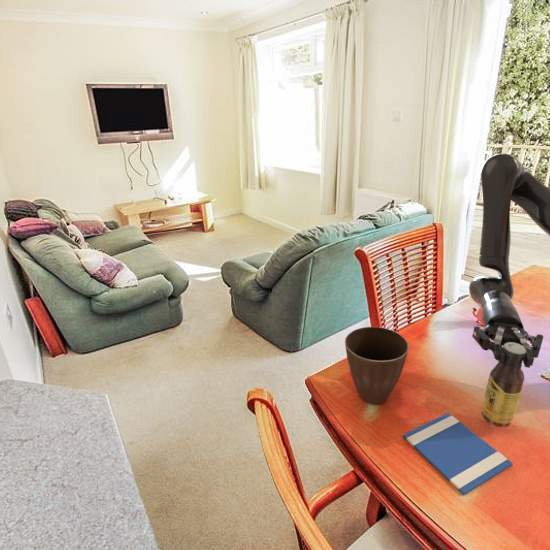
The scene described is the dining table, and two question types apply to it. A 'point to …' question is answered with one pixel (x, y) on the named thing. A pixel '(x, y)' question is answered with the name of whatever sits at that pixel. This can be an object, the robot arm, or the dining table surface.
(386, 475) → the dining table surface
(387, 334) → the flower pot
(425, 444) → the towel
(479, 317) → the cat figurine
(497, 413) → the sauce bottle
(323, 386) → the dining table surface
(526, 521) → the dining table surface
